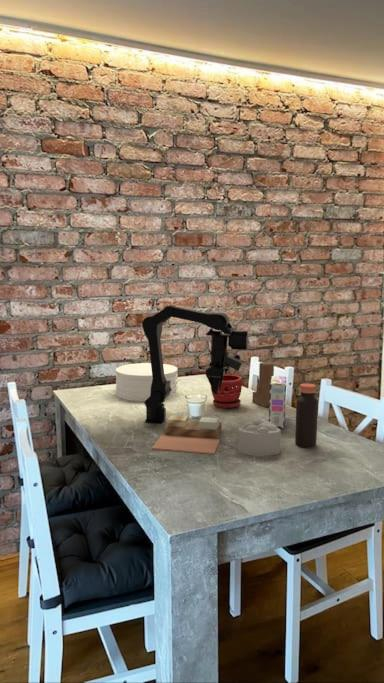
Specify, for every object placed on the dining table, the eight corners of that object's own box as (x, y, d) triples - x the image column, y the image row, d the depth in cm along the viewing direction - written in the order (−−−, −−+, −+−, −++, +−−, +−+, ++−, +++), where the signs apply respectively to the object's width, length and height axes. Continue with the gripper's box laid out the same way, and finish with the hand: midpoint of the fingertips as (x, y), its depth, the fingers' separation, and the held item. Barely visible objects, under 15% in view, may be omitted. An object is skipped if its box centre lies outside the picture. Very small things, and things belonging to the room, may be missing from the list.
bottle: (290, 442, 166) (293, 383, 163) (307, 439, 169) (310, 381, 166) (303, 449, 160) (305, 388, 157) (320, 446, 163) (323, 386, 160)
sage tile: (199, 428, 171) (199, 421, 170) (201, 424, 176) (201, 417, 175) (216, 429, 170) (216, 422, 169) (218, 425, 174) (218, 418, 174)
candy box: (284, 428, 181) (286, 384, 178) (268, 427, 182) (269, 383, 179) (285, 417, 194) (286, 375, 192) (270, 416, 195) (271, 375, 193)
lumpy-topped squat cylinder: (283, 454, 156) (283, 427, 155) (242, 457, 154) (243, 430, 152) (271, 442, 166) (272, 417, 165) (233, 445, 164) (234, 419, 162)
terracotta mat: (152, 449, 160) (152, 447, 160) (162, 436, 172) (162, 434, 172) (214, 454, 156) (214, 452, 156) (219, 440, 168) (220, 439, 168)
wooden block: (252, 402, 216) (253, 360, 213) (260, 400, 218) (261, 360, 215) (264, 407, 208) (265, 364, 205) (273, 406, 210) (274, 363, 207)
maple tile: (167, 426, 173) (167, 419, 173) (171, 421, 178) (171, 415, 177) (184, 427, 172) (184, 420, 171) (187, 423, 177) (187, 416, 176)
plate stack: (144, 383, 249) (143, 360, 247) (189, 391, 233) (189, 367, 231) (103, 394, 227) (102, 370, 225) (150, 405, 211) (150, 378, 209)
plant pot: (233, 399, 219) (234, 373, 217) (246, 408, 207) (247, 379, 205) (205, 402, 215) (206, 374, 213) (216, 410, 202) (217, 381, 201)
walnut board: (165, 436, 172) (165, 427, 172) (172, 426, 182) (172, 418, 181) (217, 439, 168) (217, 431, 168) (221, 430, 178) (221, 422, 178)
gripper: (238, 354, 168) (236, 399, 171) (244, 345, 187) (242, 386, 189) (206, 352, 171) (204, 396, 173) (214, 343, 189) (212, 384, 191)
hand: (217, 390), depth 181 cm, fingers open, 9 cm apart
